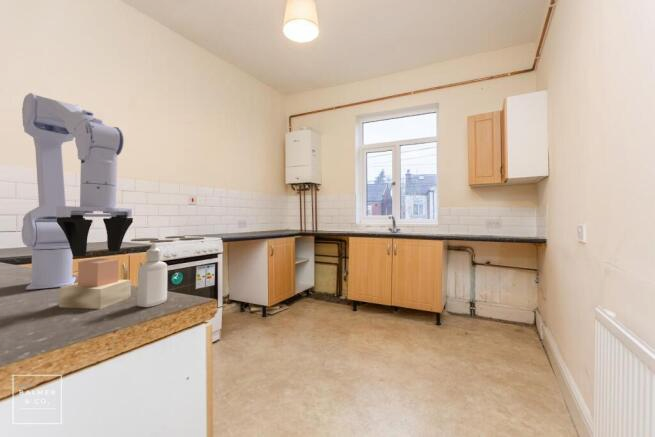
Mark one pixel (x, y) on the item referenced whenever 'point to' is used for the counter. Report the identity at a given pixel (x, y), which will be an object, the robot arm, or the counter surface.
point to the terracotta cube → (97, 272)
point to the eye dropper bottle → (152, 279)
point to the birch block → (94, 295)
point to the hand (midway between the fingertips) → (97, 253)
